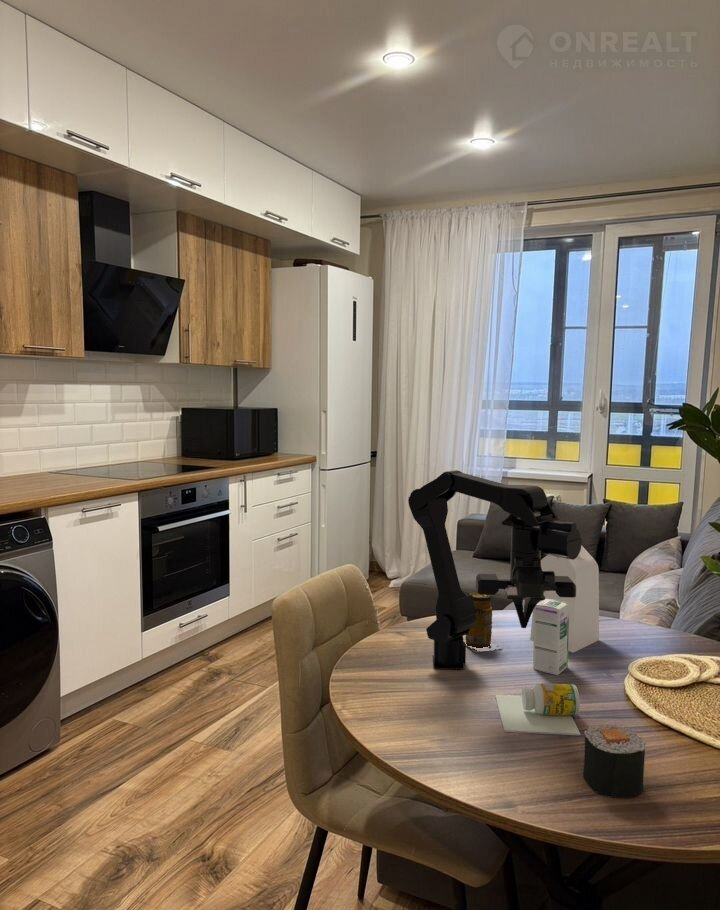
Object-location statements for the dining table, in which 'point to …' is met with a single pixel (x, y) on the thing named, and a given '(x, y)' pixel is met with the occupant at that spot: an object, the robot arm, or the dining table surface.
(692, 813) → the dining table surface
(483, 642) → the condiment
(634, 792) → the sushi
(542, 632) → the syrup box
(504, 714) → the mat
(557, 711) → the supplement bottle
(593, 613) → the milk
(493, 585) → the robot arm
